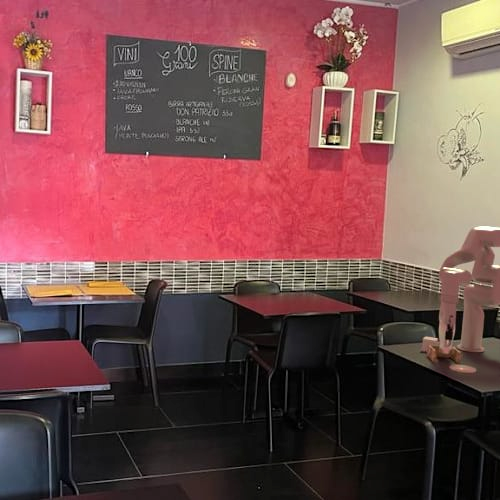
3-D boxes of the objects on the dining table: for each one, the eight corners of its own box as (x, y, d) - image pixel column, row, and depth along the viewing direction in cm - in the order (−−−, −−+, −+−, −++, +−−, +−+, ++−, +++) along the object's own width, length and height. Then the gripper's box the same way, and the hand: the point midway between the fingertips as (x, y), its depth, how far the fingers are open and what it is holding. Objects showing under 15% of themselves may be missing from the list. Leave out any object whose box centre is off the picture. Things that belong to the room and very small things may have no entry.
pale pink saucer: (446, 365, 297) (446, 363, 297) (471, 366, 297) (471, 365, 297) (453, 372, 286) (453, 370, 286) (479, 373, 286) (480, 372, 286)
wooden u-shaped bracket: (427, 355, 313) (428, 345, 312) (452, 357, 313) (453, 346, 312) (434, 362, 301) (435, 351, 300) (460, 364, 301) (461, 352, 301)
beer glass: (453, 354, 303) (456, 321, 301) (437, 353, 305) (440, 320, 303) (452, 350, 310) (455, 318, 308) (436, 349, 311) (439, 317, 309)
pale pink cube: (434, 353, 319) (435, 340, 318) (421, 351, 321) (422, 338, 321) (437, 350, 324) (438, 338, 324) (424, 348, 327) (425, 336, 326)
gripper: (435, 294, 313) (432, 332, 315) (446, 302, 296) (443, 342, 298) (452, 295, 313) (449, 333, 315) (463, 302, 296) (460, 343, 298)
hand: (446, 337), depth 307 cm, fingers closed on beer glass, 6 cm apart
